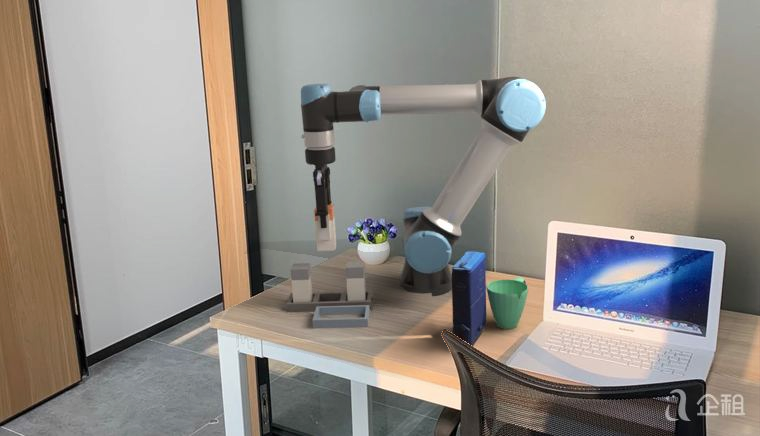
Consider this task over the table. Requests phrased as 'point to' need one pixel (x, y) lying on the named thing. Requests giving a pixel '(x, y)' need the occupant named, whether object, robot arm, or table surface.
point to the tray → (341, 321)
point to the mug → (507, 301)
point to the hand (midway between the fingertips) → (326, 236)
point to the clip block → (326, 301)
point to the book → (469, 296)
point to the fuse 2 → (355, 281)
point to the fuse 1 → (301, 282)
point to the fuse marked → (330, 244)
